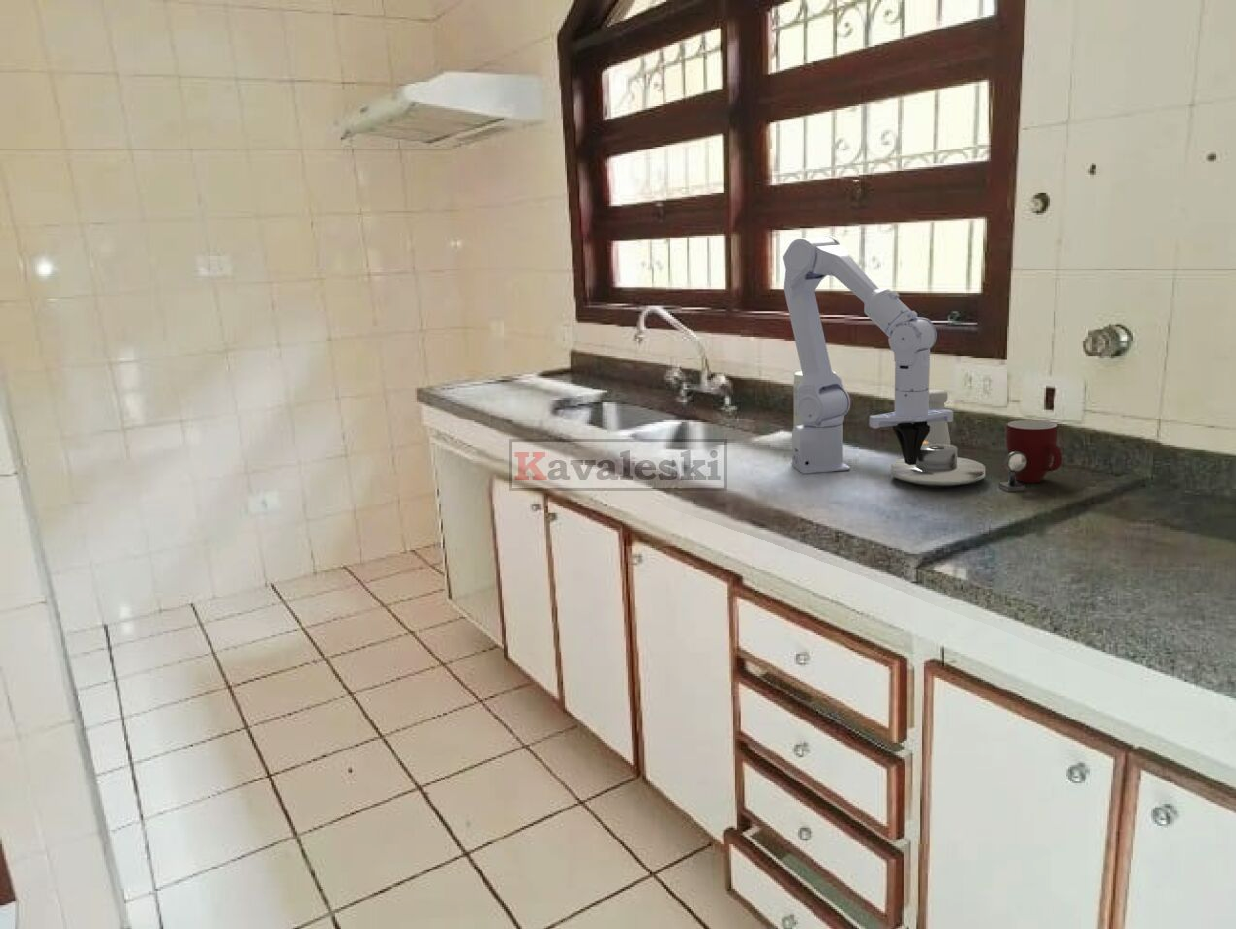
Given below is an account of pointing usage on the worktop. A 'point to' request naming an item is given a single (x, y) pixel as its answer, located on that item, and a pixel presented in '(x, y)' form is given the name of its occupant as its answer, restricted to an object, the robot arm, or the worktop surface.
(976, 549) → the worktop surface
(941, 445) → the cover
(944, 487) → the turntable base
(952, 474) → the turntable
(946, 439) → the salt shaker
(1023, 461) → the dial gauge
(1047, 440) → the mug
